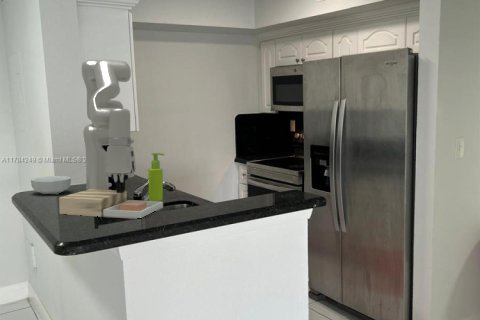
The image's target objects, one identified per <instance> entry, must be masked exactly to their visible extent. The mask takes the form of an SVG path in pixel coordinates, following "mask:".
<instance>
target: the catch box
mask: <svg viewBox="0 0 480 320" xmlns="http://www.w3.org/2000/svg"><path fill="white" fill-rule="evenodd" d="M128 201H136V202H146V209H144V210H142V211H124V210H120V204H122V203H120V204H117V205H115V206H112V207H110V208H107V209H104V210H103V216H102V217H103V218H112V219H113V218H114V219H115V218H117V219H133V220H134V219H135V220H138V219H137V218H142V217H144V216H146V215H148V214H150V213H152V212H154V211H156V212H158V211H160V210H162V209H164V202H163V201H149V200H135V199H134V200H133V199H130V200H129V199H128V200H127V201H125V202H128ZM125 202H123V203H125ZM154 213H155V212H154ZM152 214H153V213H152ZM150 215H151V214H150ZM148 216H149V215H148ZM146 217H147V216H146ZM144 218H145V217H144ZM142 219H143V218H142Z"/></svg>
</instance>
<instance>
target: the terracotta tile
mask: <svg viewBox="0 0 480 320" xmlns="http://www.w3.org/2000/svg"><path fill="white" fill-rule="evenodd" d="M127 201H128V200H127ZM144 209H146V202H136V201H128V202H125V203H122V204H120V210H124V211H142V210H144Z"/></svg>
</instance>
